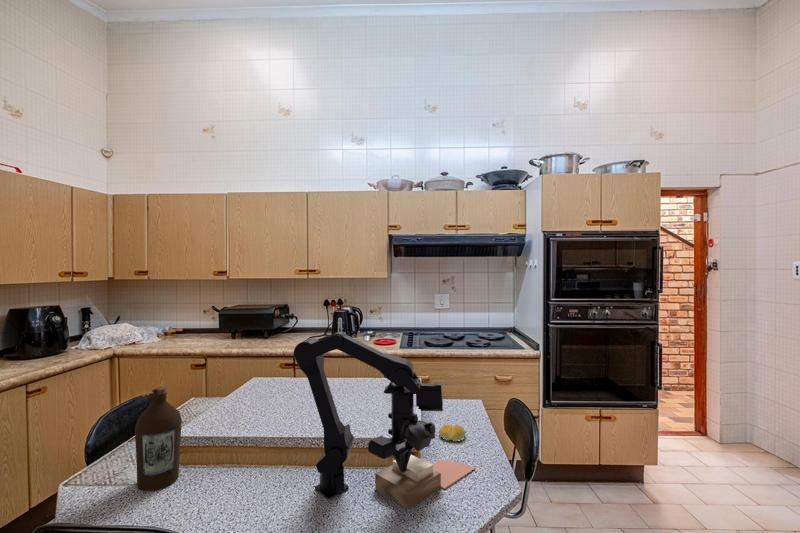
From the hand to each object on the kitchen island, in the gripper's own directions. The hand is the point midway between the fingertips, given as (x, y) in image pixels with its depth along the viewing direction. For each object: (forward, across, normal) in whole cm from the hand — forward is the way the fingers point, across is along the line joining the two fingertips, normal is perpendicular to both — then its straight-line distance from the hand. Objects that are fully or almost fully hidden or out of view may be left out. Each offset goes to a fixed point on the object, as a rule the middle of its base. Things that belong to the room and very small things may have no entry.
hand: (402, 471), depth 95 cm
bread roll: (+6, +35, +11) cm, 37 cm away
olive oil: (+5, -44, +50) cm, 66 cm away
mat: (+5, +15, 0) cm, 16 cm away
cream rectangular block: (+1, +4, 0) cm, 4 cm away
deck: (+5, +2, 0) cm, 5 cm away
